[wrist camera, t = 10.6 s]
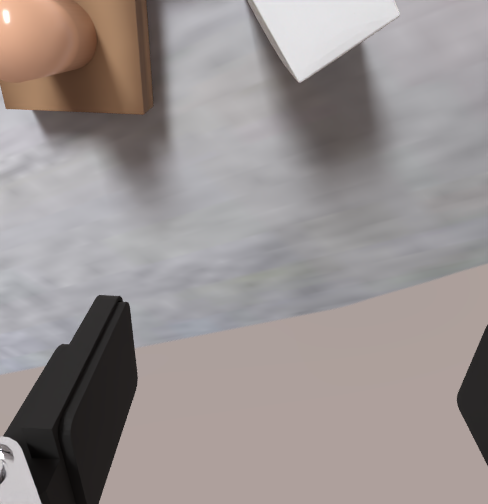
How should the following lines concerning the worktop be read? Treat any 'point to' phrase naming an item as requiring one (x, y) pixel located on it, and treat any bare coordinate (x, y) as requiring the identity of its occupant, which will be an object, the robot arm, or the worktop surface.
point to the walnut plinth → (98, 68)
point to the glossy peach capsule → (43, 38)
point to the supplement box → (319, 29)
